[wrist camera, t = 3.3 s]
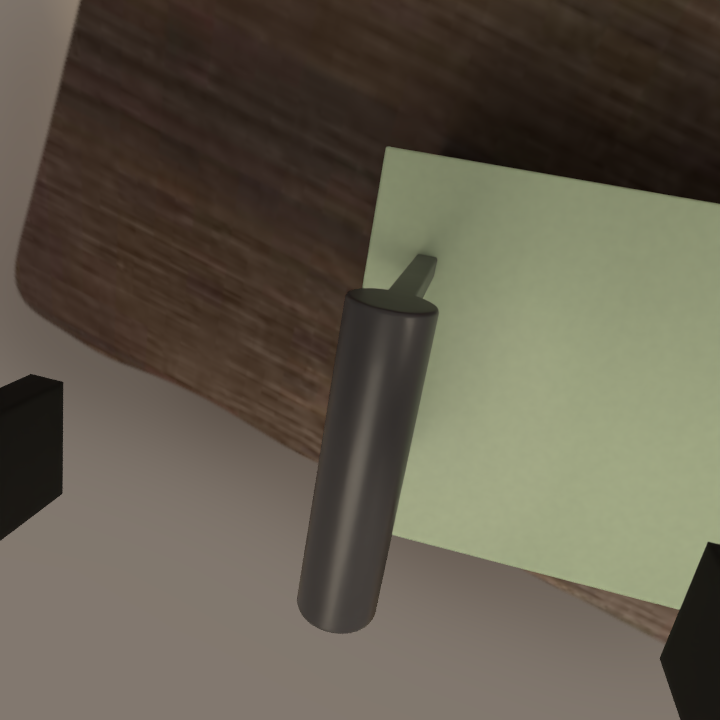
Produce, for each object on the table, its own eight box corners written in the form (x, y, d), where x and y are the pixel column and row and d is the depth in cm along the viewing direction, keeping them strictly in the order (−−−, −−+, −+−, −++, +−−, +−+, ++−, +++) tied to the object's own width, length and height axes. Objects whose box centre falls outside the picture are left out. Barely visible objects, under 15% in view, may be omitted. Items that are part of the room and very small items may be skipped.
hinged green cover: (328, 507, 25) (235, 703, 16) (389, 146, 21) (308, 131, 11) (823, 635, 23) (1052, 956, 13) (1019, 255, 18) (1571, 349, 9)
